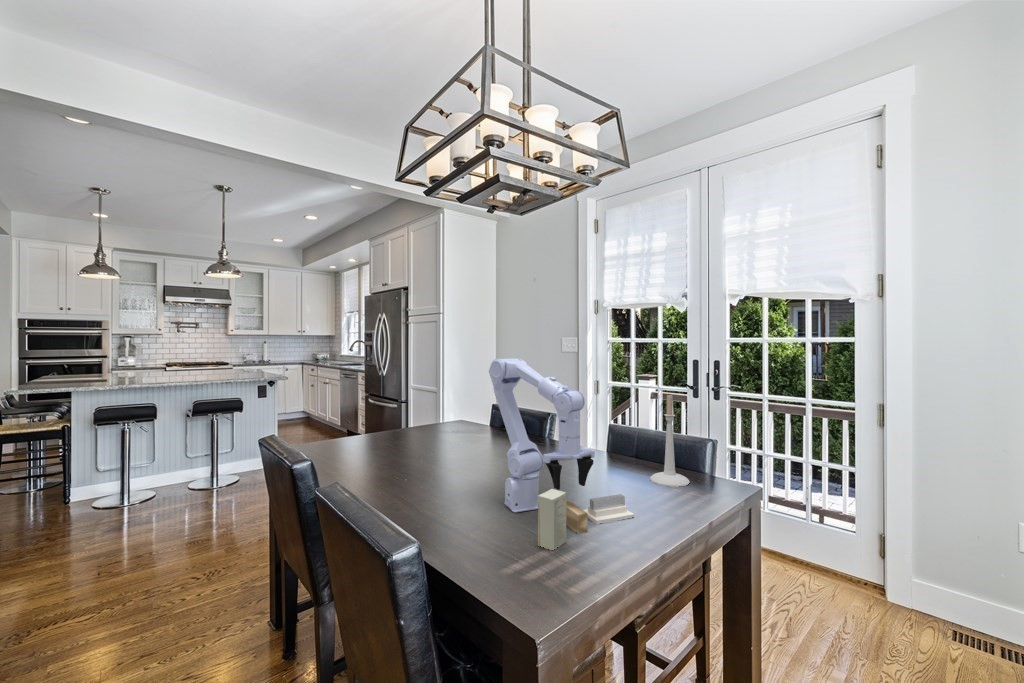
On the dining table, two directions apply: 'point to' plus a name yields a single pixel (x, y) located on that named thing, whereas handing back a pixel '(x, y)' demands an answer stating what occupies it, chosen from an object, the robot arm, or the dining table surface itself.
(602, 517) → the ridge stand
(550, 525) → the skincare box
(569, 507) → the oak bar
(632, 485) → the dining table surface
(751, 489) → the dining table surface
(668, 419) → the candlestick
